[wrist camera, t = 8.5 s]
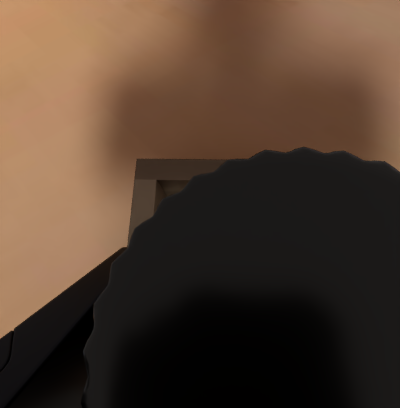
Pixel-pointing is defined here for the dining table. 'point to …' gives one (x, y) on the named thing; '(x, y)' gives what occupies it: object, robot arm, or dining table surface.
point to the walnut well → (162, 183)
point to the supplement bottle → (257, 291)
